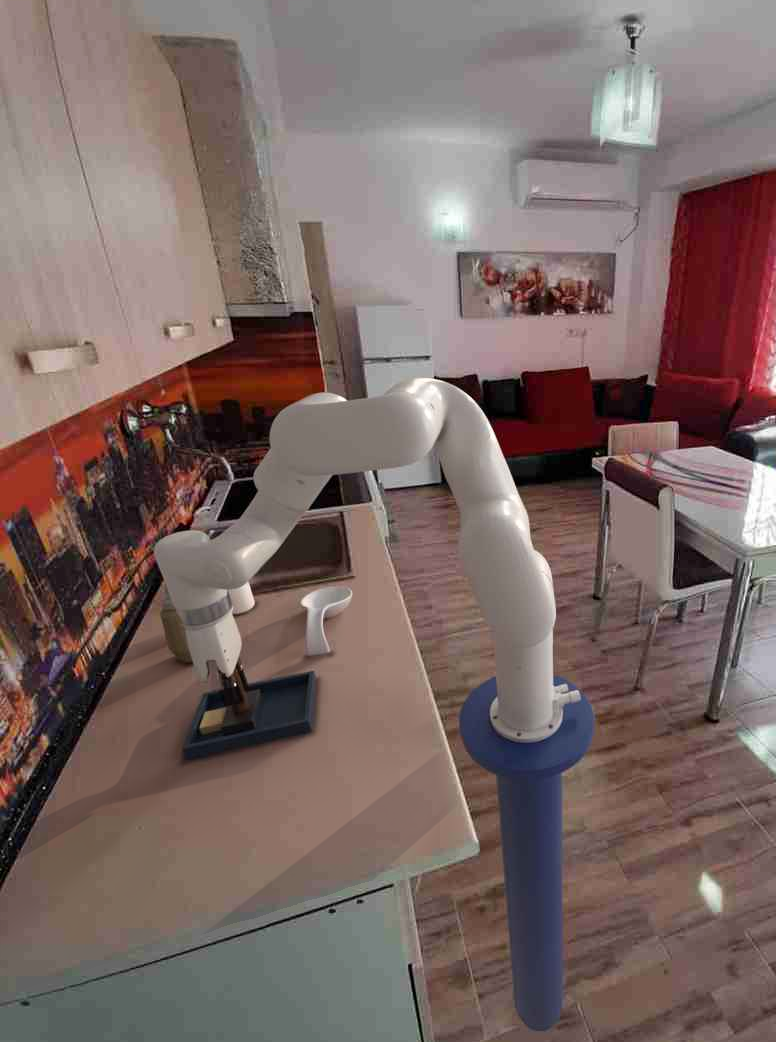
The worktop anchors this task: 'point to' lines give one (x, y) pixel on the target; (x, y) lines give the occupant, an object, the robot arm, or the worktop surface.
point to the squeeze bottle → (174, 630)
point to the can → (241, 599)
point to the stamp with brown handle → (242, 711)
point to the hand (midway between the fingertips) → (236, 695)
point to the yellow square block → (212, 721)
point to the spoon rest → (322, 615)
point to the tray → (278, 716)
